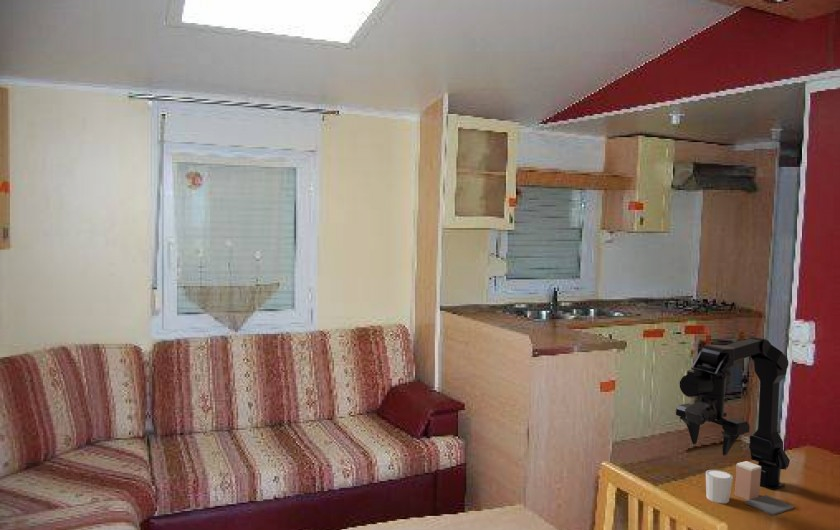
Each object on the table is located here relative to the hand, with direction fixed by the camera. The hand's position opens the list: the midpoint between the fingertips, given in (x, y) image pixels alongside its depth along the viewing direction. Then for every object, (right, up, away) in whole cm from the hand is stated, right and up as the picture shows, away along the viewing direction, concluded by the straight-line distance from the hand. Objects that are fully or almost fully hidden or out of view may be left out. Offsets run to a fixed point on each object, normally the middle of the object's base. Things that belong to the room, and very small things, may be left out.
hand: (709, 449), depth 172 cm
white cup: (+4, -15, +4) cm, 16 cm away
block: (+13, -15, +6) cm, 21 cm away
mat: (+16, -15, 0) cm, 22 cm away
